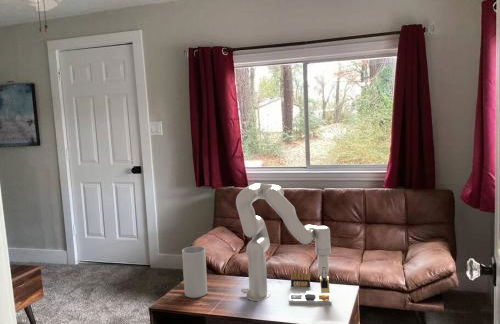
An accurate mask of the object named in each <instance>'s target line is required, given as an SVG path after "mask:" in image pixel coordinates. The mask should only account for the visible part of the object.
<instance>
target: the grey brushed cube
mask: <svg viewBox="0 0 500 324" xmlns="http://www.w3.org/2000/svg"><path fill="white" fill-rule="evenodd" d="M305 294H306V300H314V294H315V291H314V290H306V291H305Z"/></svg>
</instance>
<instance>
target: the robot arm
mask: <svg viewBox="0 0 500 324" xmlns="http://www.w3.org/2000/svg"><path fill="white" fill-rule="evenodd" d="M258 200H265V202H266V203H267V204H268V205H269V206H270V207H271V208H272V210H274V211H275V212H276V214H277V215H278V216H279V217H280V219H282V221H283V224H284V225H285V227H286V228H287V230H288V231H289V233H290V234H291V235H292V236H293V237H294V238H295V239H296V240H297V241H298V242H299V243H301V244H303V245H308V244H310V243H311V242H312V241H313V240H314V243H315V244H314V245H315V246H314V247H315V255H316V256H317V271H318V272H317V274H318V275H319V276H320V277H321V278H322V280H321V284H320V289H321V288H328V280H327V276H329V271H330V270H329V268H330V266H329V263H330V262H329V260H330V259H329V256H331V254H332V251H331V247H332V245H331V230H330V227H329V226H326V225H319V226H318V225H313V224H305V225H304V224H303V223H302V222H301V221H300V219H299V218H298V215H297V212H296V208H295V206H294V205H293V204H292V203H291V201H289V200H288V198H286V197H285V191H284V189H283V188H282V186H280V185H277V184H270V183H257V182H256V183H255V182H254V183H251V184H250V185H248V186H246V187H244V188H243V189H241V190H240V191H239V193H238V194H237V195H236V199H235V206H236V210H237V213H238V217H239V220H240V224H241V227H242V228H241V229H242V231H243V233H244V236H246V237H248V238H251V239H250V241H249V242H248V243H247V245H246V249H245V250H246V257H247V270H248V287H247V288H245V287H242V288H241V293H242V294H246V298H247V300H249V301H252V302H258V301H263V300H267V299H268V298H269V297H271V293H270V292H269V291H268V284H267V283H268V280H267V276H268V275H267V260H266V254H265V253H266V251H268V249H269V248H270V245H271V243H270V242H271V241H270V238H269V232H268V230H267V226H266V223H265V221H264V218H262V217H261V216H259V215H256V211H255V208H254V206H253V203H254V202H255V201H258ZM322 276H323V277H322ZM325 276H326V277H325Z"/></svg>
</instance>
